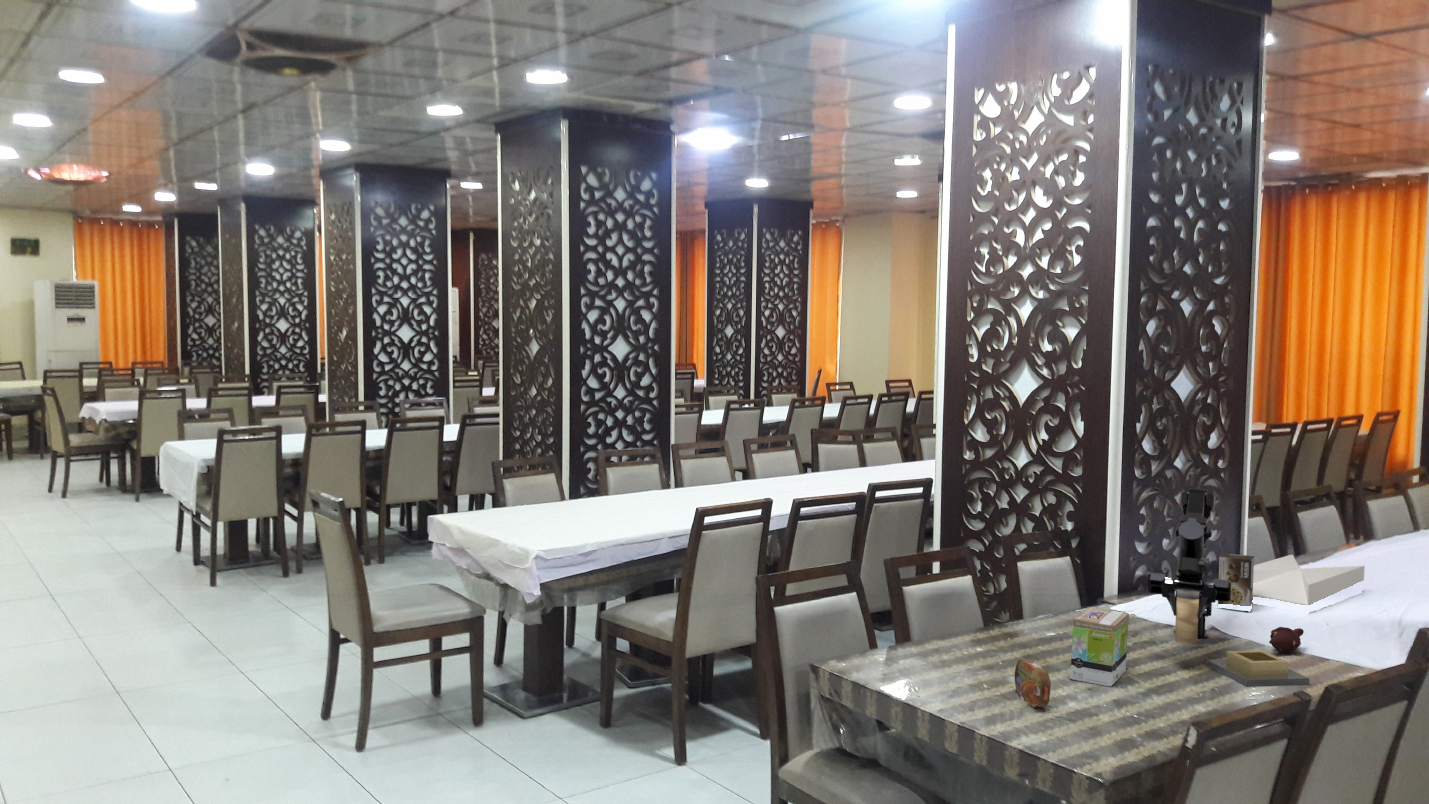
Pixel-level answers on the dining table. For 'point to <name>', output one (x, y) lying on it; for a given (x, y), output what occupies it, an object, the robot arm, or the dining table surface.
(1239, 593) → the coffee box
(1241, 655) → the socket
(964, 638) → the dining table surface
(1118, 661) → the tea box
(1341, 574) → the building model
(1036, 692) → the tin
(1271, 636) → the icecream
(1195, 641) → the tan cylinder
